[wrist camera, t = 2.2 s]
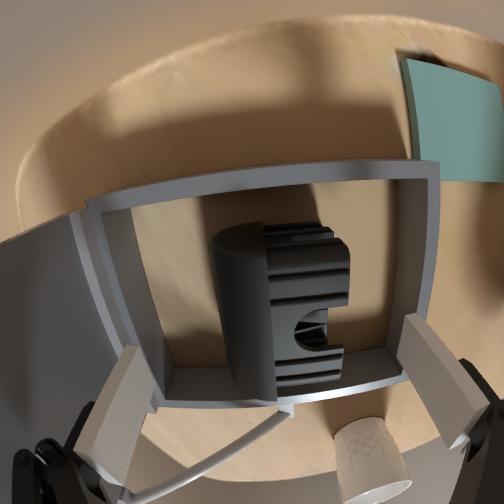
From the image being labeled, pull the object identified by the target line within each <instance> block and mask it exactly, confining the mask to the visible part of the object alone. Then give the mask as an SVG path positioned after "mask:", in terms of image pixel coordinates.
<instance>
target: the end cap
mask: <svg viewBox="0 0 504 504" xmlns="http://www.w3.org/2000/svg"><path fill="white" fill-rule="evenodd" d="M208 250H209V257H210V263H211V269H212V275H213V281H214V287H215V293H216V299H217V304H218V310H219V315H220V321H221V326H222V331H223V337H224V342H225V347H226V352H227V357H228V362H229V367H230V371H231V376H232V379H233V382H234V384H235V385H236V387H237V388H238V389H239V390H240V391H241V392H242V393H244V394H245V395H247V396H249V397H251V398H254V399H257V400H261V401H268V402H277V387H286V386H296V385H305V384H313V383H320V382H327V381H333V380H339V379H340V376H341V369H342V361H343V353H344V347H343V344H336V345H328V342H327V320H328V309H327V308H332V307H340V306H347V305H348V298H349V281H350V253H349V249H348V247H347V245H346V244H345V243H344V242H343V241H342V240H341V239H339V238H334V232H333V231H332V230H331V229H330V228H329V227H323V226H322V225H321V224H320V223H319V222H315V221H313V222H300V223H288V224H276V225H265V226H263V221H261V222H253V223H247V224H242V225H237V226H234V227H230V228H228V229H225V230H223V231H221V232H218V233H217V234H215V235H214V236H213V237H212V238H211V239H210V240H209V243H208Z"/></svg>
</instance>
